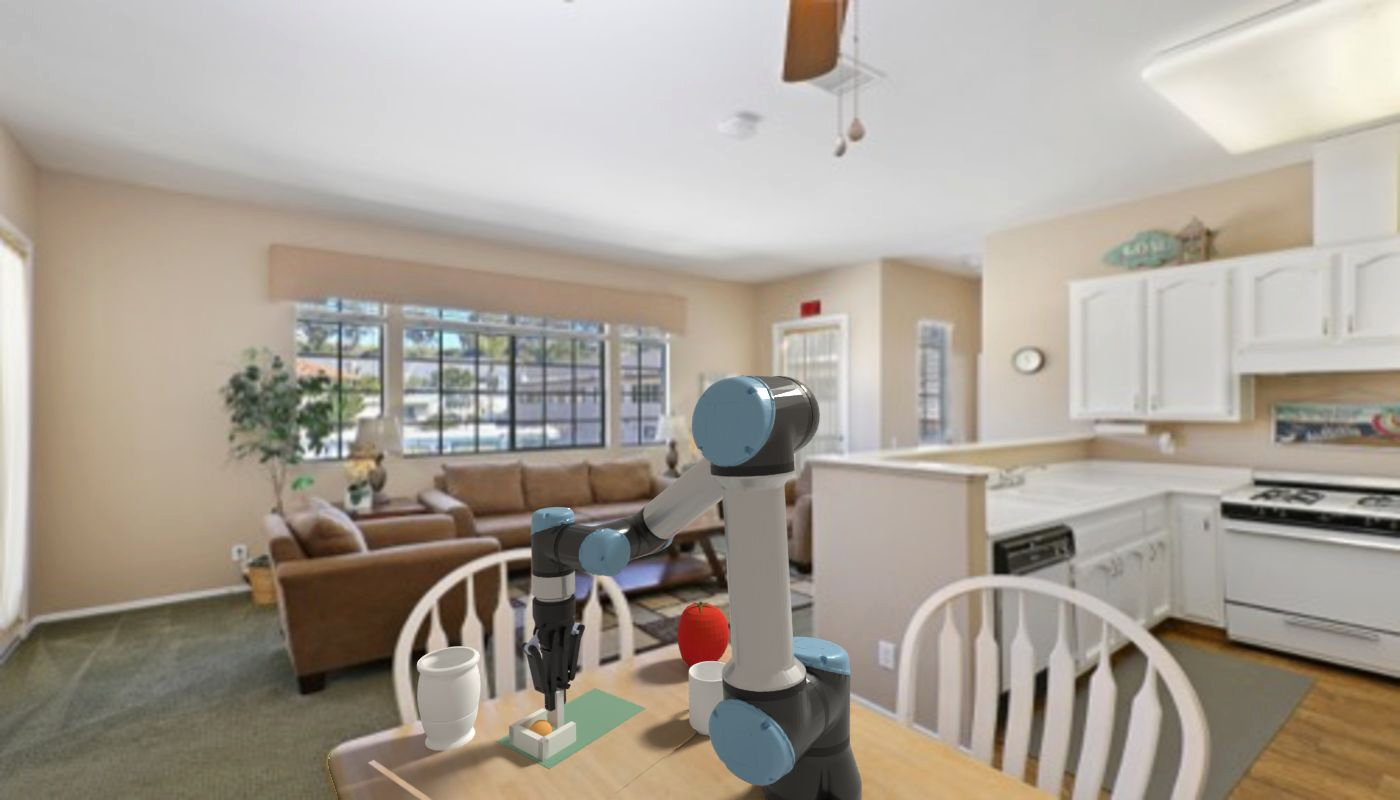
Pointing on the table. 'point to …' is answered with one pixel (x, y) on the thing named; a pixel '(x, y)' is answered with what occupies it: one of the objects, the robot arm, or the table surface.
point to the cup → (704, 693)
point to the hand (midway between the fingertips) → (555, 724)
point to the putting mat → (587, 722)
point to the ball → (541, 727)
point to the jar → (448, 696)
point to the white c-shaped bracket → (537, 743)
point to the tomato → (702, 633)
